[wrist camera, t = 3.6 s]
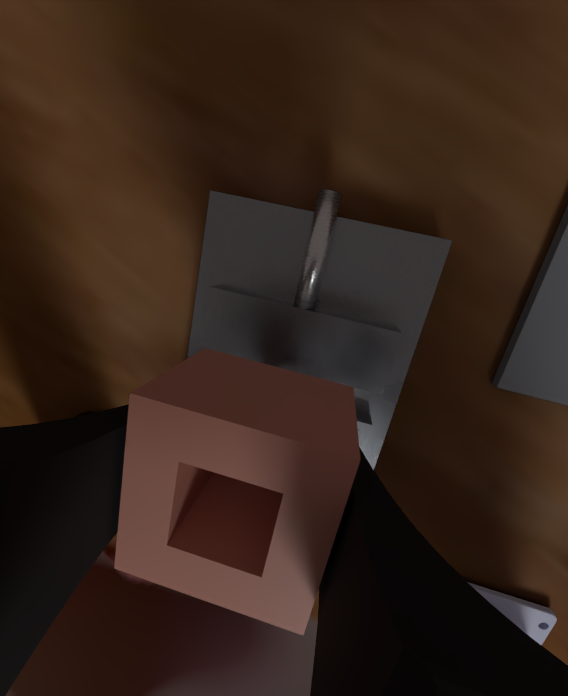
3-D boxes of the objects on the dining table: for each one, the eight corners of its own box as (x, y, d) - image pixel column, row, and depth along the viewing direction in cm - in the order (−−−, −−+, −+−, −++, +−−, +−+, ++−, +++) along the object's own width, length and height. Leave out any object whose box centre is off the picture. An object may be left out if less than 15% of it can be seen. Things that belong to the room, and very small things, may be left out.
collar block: (315, 513, 12) (303, 635, 8) (185, 473, 12) (114, 568, 8) (353, 387, 10) (360, 459, 6) (204, 348, 11) (129, 393, 7)
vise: (351, 513, 20) (355, 604, 14) (182, 462, 21) (129, 528, 16) (448, 225, 15) (504, 203, 10) (223, 179, 16) (168, 138, 11)
